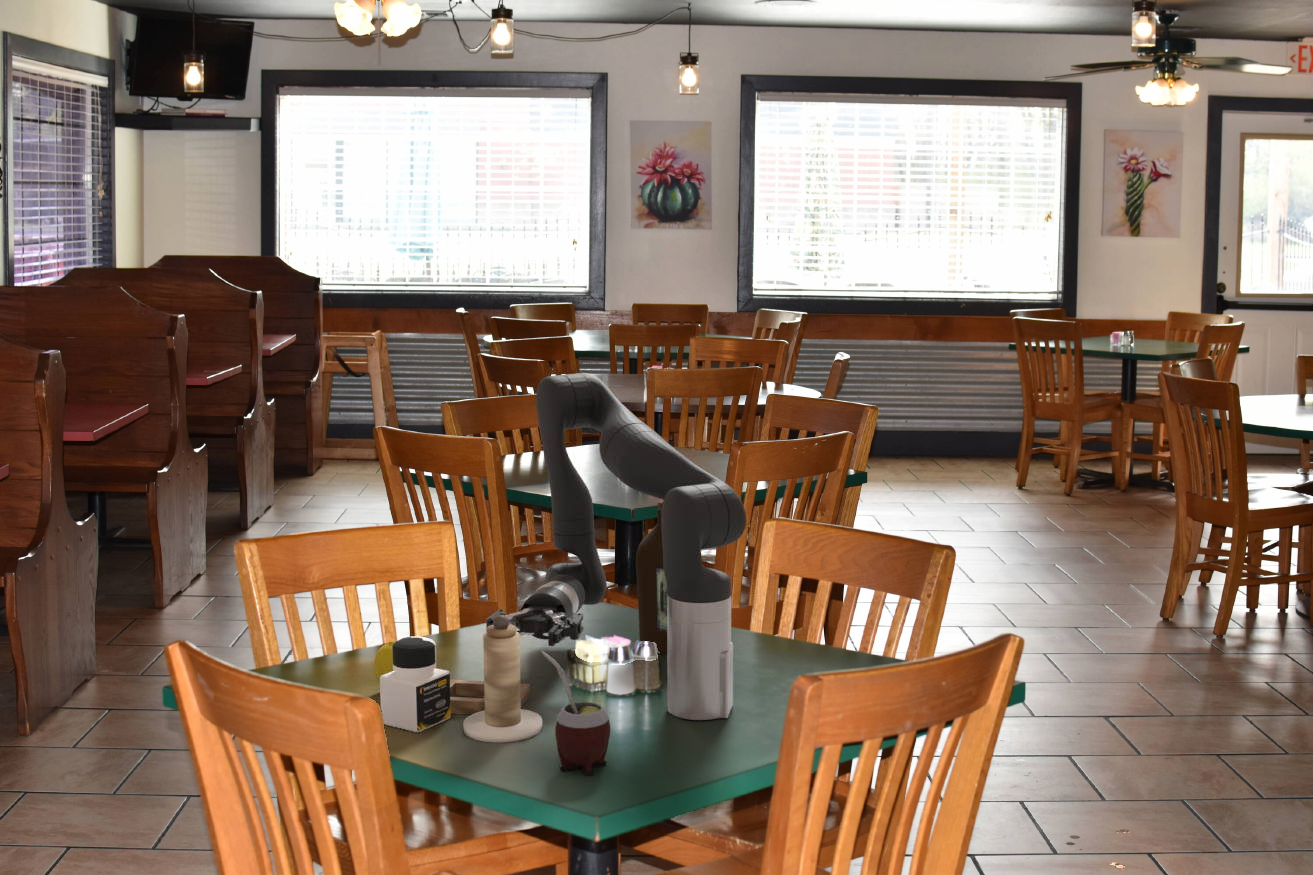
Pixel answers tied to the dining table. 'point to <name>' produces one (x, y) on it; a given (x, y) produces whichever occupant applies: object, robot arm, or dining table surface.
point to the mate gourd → (581, 732)
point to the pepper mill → (502, 674)
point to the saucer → (502, 728)
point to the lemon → (384, 661)
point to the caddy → (476, 690)
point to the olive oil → (652, 587)
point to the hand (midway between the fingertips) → (522, 638)
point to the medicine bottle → (415, 687)
